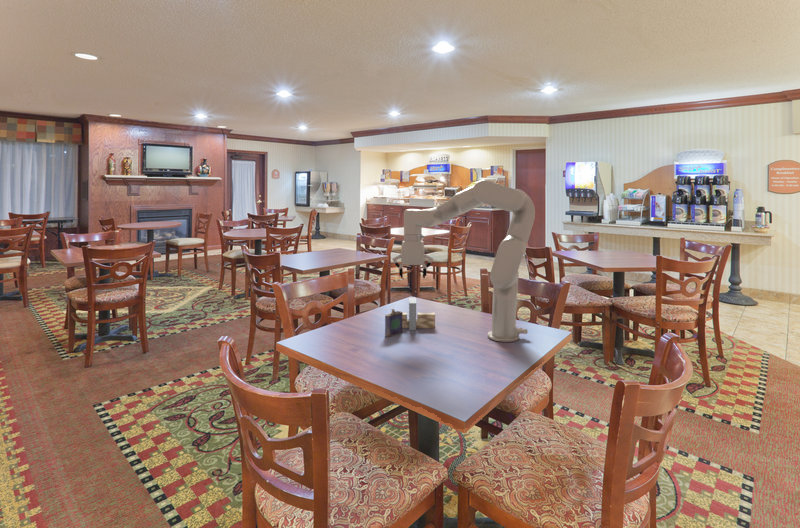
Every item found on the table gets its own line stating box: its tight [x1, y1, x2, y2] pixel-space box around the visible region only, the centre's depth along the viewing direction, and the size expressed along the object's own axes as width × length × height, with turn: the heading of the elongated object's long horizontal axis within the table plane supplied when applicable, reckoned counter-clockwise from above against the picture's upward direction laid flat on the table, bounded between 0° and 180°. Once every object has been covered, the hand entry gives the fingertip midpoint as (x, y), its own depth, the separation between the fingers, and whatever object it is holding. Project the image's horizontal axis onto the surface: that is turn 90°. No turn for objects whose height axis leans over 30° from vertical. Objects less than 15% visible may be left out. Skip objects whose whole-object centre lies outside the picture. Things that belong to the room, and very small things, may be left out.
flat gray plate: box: [408, 297, 417, 331], centre depth 195 cm, size 10×3×12 cm, turn 179°
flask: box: [384, 308, 403, 338], centre depth 185 cm, size 9×3×11 cm, turn 134°
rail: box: [388, 312, 436, 329], centre depth 195 cm, size 20×3×6 cm, turn 90°
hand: (412, 277), depth 192 cm, fingers open, 9 cm apart
